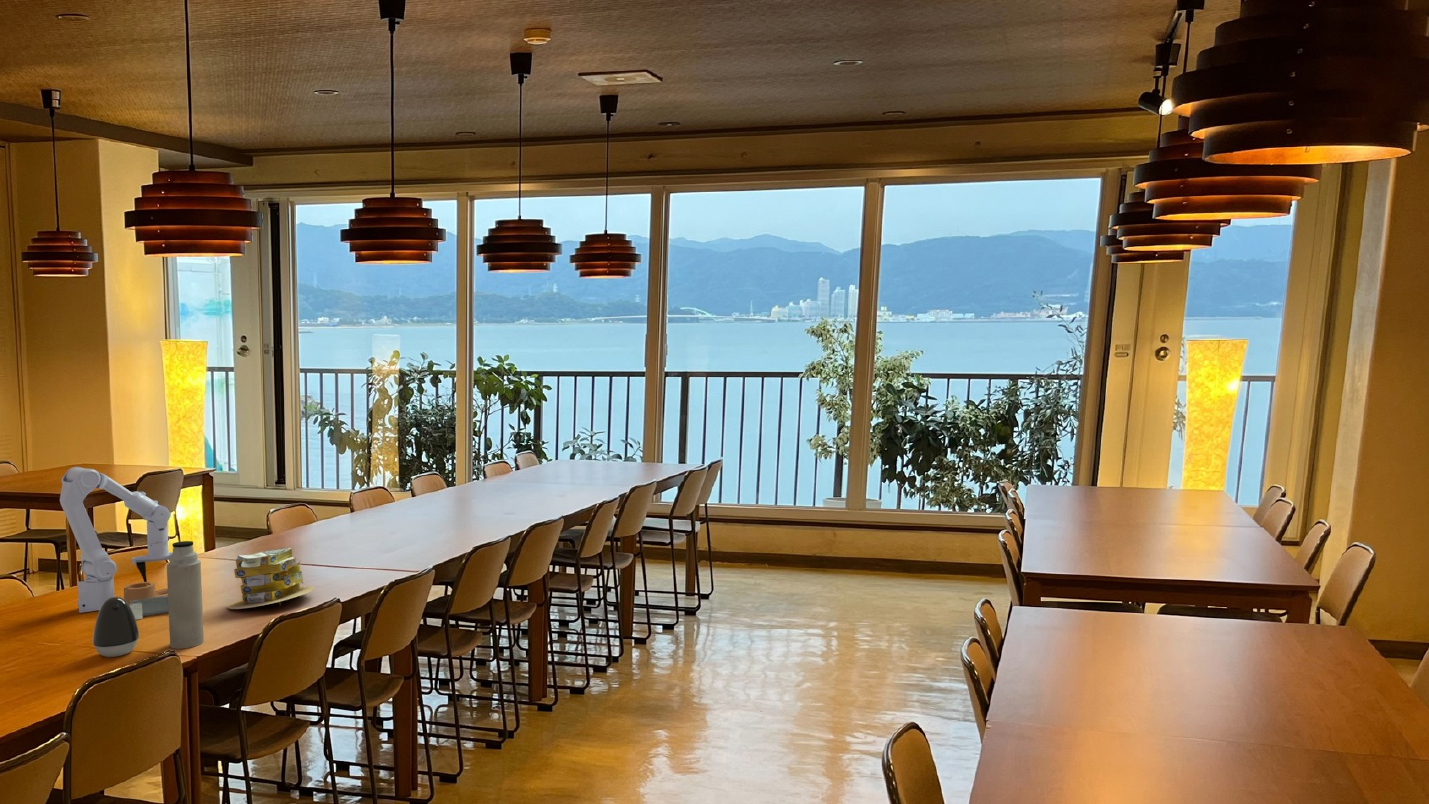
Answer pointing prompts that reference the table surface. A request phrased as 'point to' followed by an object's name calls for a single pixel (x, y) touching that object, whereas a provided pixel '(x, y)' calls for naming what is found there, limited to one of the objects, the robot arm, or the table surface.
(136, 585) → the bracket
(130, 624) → the grey white egg device
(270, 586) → the stacked boxes on plate
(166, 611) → the bar
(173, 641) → the thermos bottle
